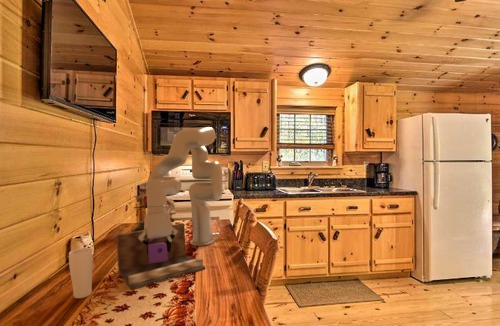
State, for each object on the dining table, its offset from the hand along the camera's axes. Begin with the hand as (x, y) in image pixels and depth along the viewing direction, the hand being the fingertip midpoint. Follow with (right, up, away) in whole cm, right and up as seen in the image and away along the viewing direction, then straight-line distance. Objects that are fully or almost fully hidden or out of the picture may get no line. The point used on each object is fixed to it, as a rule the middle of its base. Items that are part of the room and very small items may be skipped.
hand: (159, 252), depth 119 cm
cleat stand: (+1, -7, -2) cm, 7 cm away
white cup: (-19, -8, -21) cm, 30 cm away
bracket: (0, -2, -1) cm, 2 cm away
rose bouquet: (-20, -7, +62) cm, 65 cm away
